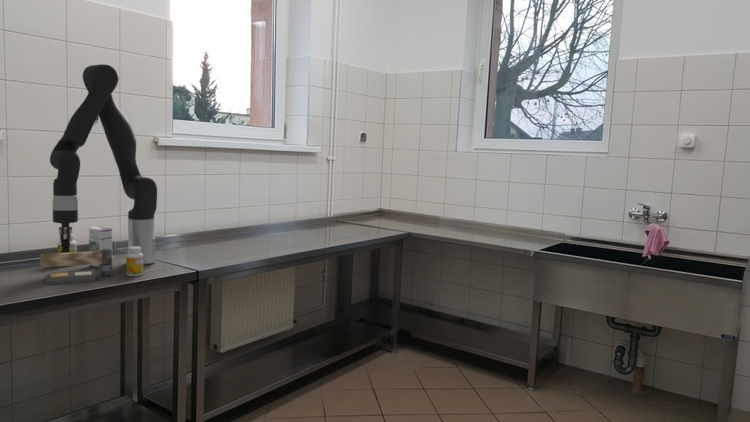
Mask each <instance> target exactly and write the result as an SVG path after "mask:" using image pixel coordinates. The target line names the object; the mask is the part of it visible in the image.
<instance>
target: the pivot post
mask: <svg viewBox="0 0 750 422" xmlns="http://www.w3.org/2000/svg"><path fill="white" fill-rule="evenodd" d="M113 266H114V264H107V265H103V264H100V268H99V277H101V278H102V277H103V278H109V277H112V276H113V275H114V273H113V272H114V269H113Z"/></svg>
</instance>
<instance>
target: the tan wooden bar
mask: <svg viewBox="0 0 750 422" xmlns="http://www.w3.org/2000/svg"><path fill="white" fill-rule="evenodd" d="M112 256H113V249H112V250H110V249H104V250H100V251H91V252H90V251H77V252H68V253H58V252H51V253H41V254H40V267H41V268H50V267H51V268H52V267H68V266H69V267H71V266H88V265H89V266H90V264H103V265H107V264H112Z"/></svg>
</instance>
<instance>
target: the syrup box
mask: <svg viewBox="0 0 750 422" xmlns="http://www.w3.org/2000/svg"><path fill="white" fill-rule="evenodd" d="M88 237H89V238H88V239H89V240H88V244H89V245H88V247H89V248H88V249H89V251H88V252H91V251H100V250H104V249H110V250H112V251H113V228H112V227H111V226H110V227H109V226H104V225H103V226H101V225H99V226H98V225H97V226H92V227H88ZM113 258H114V257H113V255H112V264H113V263H114V262H113ZM113 265H114V264H113ZM89 266H90V267H94V268H99V269H100V264H90V265H89Z"/></svg>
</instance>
